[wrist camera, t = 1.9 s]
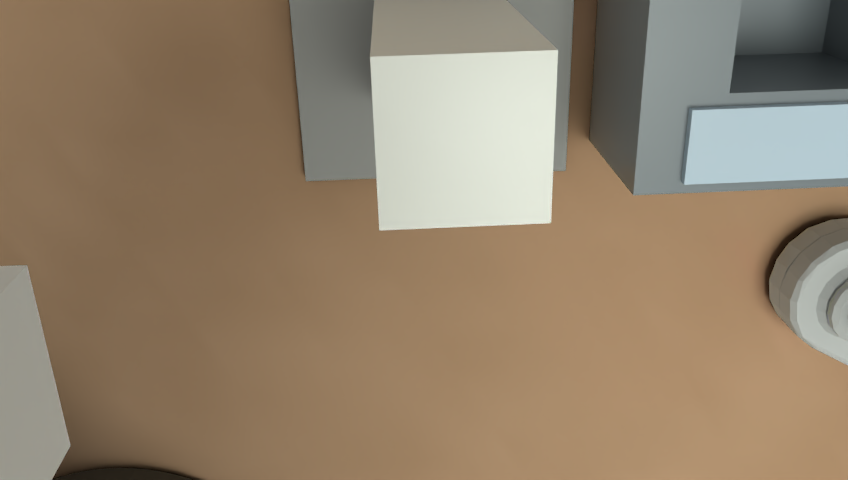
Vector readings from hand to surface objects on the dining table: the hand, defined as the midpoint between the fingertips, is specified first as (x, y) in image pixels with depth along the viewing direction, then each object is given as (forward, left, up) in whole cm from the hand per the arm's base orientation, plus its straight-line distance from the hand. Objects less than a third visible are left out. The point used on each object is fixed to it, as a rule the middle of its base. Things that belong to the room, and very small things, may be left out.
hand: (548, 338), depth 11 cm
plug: (0, 0, -20) cm, 20 cm away
